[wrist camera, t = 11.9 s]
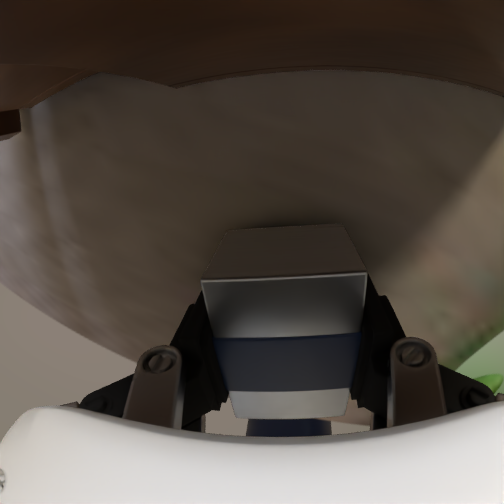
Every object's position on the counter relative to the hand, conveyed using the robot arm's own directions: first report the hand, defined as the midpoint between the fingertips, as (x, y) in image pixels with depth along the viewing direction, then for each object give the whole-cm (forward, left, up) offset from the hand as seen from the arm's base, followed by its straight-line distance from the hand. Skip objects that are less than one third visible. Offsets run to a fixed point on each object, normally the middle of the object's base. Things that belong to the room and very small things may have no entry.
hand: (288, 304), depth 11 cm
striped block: (0, 0, 0) cm, 0 cm away
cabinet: (+15, -4, -1) cm, 15 cm away
